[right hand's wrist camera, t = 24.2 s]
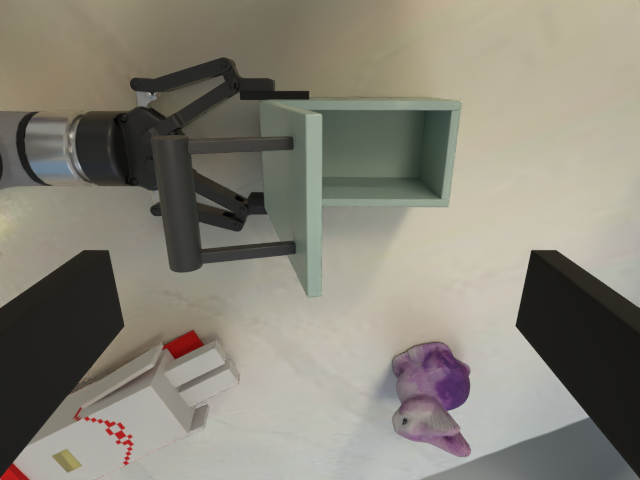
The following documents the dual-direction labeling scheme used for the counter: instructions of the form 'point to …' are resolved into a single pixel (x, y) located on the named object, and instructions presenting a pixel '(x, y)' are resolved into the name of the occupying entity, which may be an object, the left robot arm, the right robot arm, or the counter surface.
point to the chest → (385, 150)
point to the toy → (128, 413)
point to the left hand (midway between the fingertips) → (309, 149)
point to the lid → (279, 193)
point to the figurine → (431, 396)
